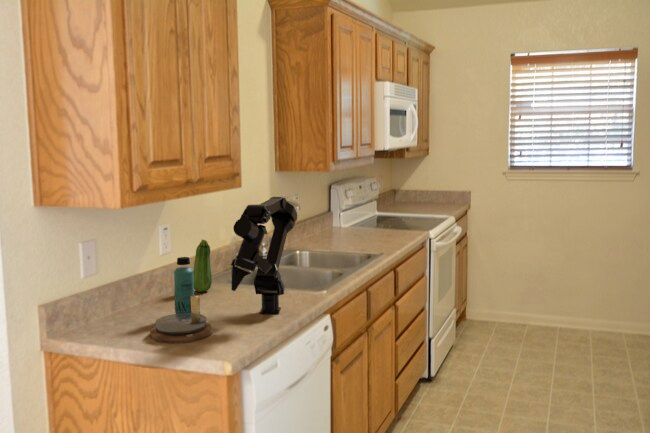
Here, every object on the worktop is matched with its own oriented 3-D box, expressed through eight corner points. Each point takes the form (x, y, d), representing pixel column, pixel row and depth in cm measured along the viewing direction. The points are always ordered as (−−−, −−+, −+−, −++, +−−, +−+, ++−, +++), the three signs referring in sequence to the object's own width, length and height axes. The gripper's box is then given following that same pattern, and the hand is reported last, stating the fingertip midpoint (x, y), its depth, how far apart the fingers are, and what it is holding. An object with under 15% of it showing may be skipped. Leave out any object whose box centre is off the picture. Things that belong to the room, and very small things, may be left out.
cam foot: (145, 330, 200) (143, 296, 199) (180, 318, 213) (179, 286, 211) (182, 338, 192) (180, 302, 191) (217, 325, 205) (215, 291, 203)
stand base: (144, 330, 206) (144, 324, 206) (201, 321, 215) (201, 316, 214) (159, 346, 191) (159, 340, 190) (220, 336, 199) (220, 331, 199)
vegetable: (189, 291, 255) (187, 239, 252) (206, 288, 259) (204, 237, 257) (198, 295, 249) (196, 241, 247) (215, 291, 254) (213, 239, 251)
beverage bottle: (171, 317, 220) (168, 257, 217) (188, 313, 224) (186, 254, 222) (182, 321, 215) (179, 260, 212) (199, 317, 220) (197, 257, 217)
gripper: (279, 251, 202) (260, 300, 200) (271, 253, 221) (254, 298, 218) (244, 238, 201) (225, 287, 198) (239, 241, 219) (221, 286, 216)
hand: (233, 290), depth 208 cm, fingers closed
